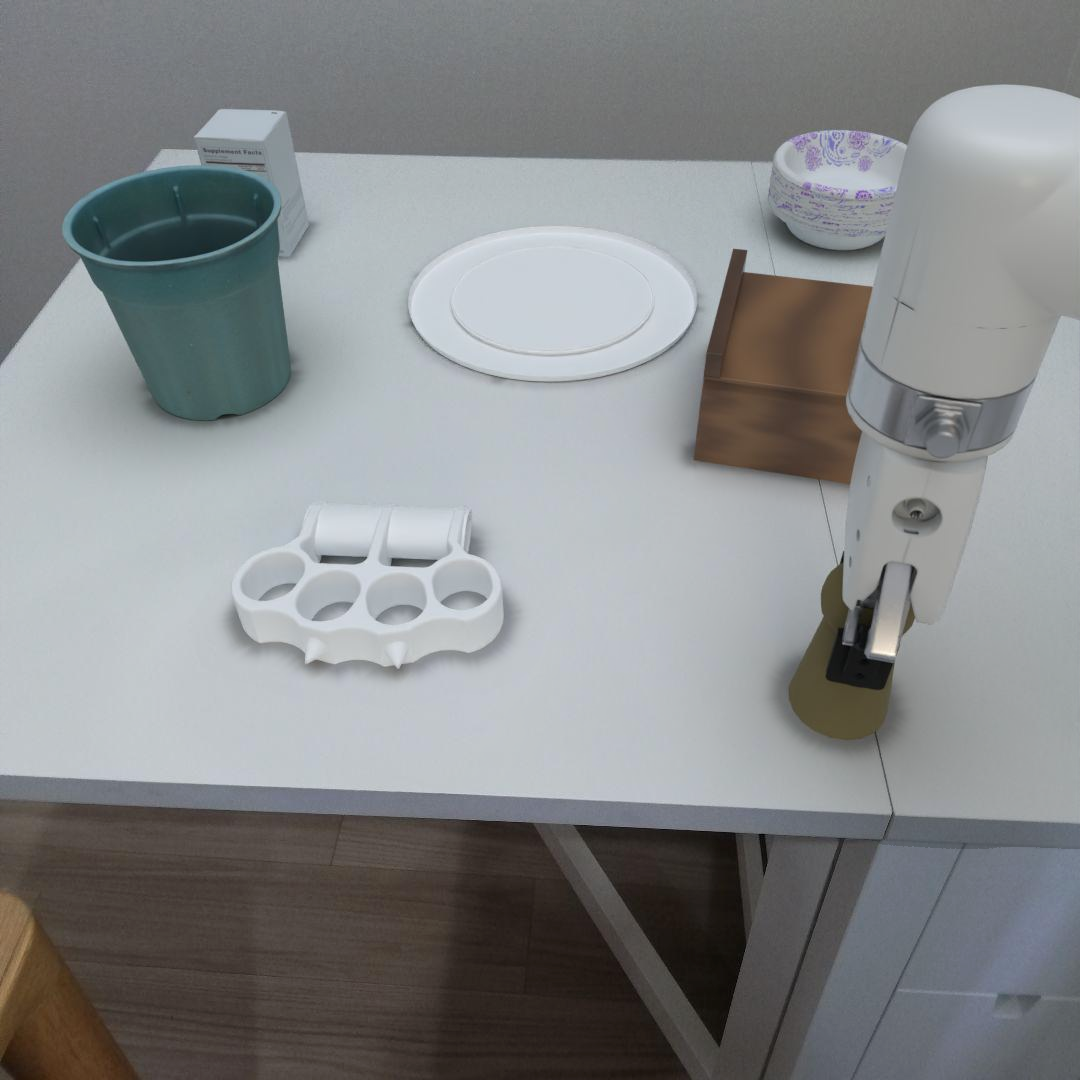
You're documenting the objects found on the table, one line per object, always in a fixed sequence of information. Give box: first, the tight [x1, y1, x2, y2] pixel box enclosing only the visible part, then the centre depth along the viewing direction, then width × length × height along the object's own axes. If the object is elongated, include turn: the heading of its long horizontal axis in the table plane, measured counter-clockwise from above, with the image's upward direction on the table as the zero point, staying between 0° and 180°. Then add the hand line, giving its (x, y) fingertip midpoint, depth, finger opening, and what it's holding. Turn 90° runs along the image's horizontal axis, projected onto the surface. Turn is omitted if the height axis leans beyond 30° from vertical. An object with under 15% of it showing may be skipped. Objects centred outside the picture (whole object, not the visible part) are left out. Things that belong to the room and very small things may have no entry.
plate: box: [407, 225, 698, 383], centre depth 95 cm, size 28×28×1 cm
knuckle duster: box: [230, 500, 505, 670], centre depth 67 cm, size 3×18×15 cm
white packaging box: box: [193, 108, 310, 258], centre depth 101 cm, size 7×7×13 cm
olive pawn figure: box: [788, 562, 916, 741], centre depth 57 cm, size 6×6×11 cm
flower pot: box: [61, 164, 292, 421], centre depth 81 cm, size 16×16×16 cm
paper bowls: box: [767, 129, 908, 251], centre depth 102 cm, size 15×15×8 cm
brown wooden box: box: [693, 248, 873, 485], centre depth 78 cm, size 14×16×10 cm
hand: (856, 639), depth 57 cm, fingers closed on olive pawn figure, 5 cm apart
